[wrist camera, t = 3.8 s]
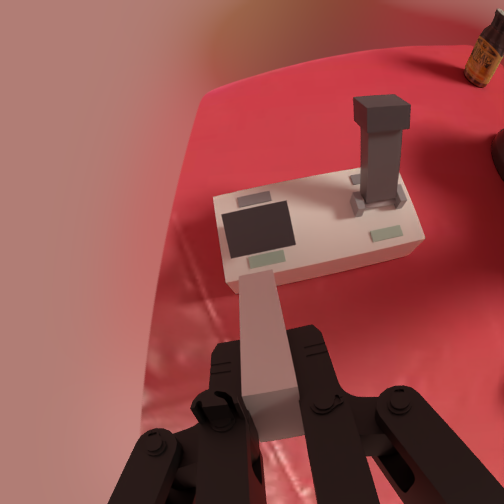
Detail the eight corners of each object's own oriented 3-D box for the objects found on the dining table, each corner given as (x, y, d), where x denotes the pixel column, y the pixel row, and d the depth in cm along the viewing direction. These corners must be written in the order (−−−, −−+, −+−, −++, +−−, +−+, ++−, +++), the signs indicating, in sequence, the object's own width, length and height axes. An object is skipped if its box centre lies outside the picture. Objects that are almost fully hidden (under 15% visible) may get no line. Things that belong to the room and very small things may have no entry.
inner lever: (401, 200, 29) (410, 104, 22) (364, 207, 30) (366, 108, 22) (389, 184, 32) (394, 94, 24) (354, 190, 32) (353, 97, 24)
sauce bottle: (457, 71, 46) (483, 1, 27) (472, 69, 46) (498, 4, 27) (477, 91, 43) (510, 21, 25) (491, 88, 44) (522, 24, 25)
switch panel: (407, 255, 36) (432, 231, 28) (235, 294, 37) (221, 277, 29) (383, 187, 39) (399, 152, 31) (223, 219, 40) (208, 188, 33)
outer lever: (284, 236, 31) (296, 244, 20) (241, 245, 31) (231, 258, 21) (278, 207, 31) (286, 200, 20) (235, 216, 31) (221, 214, 20)
